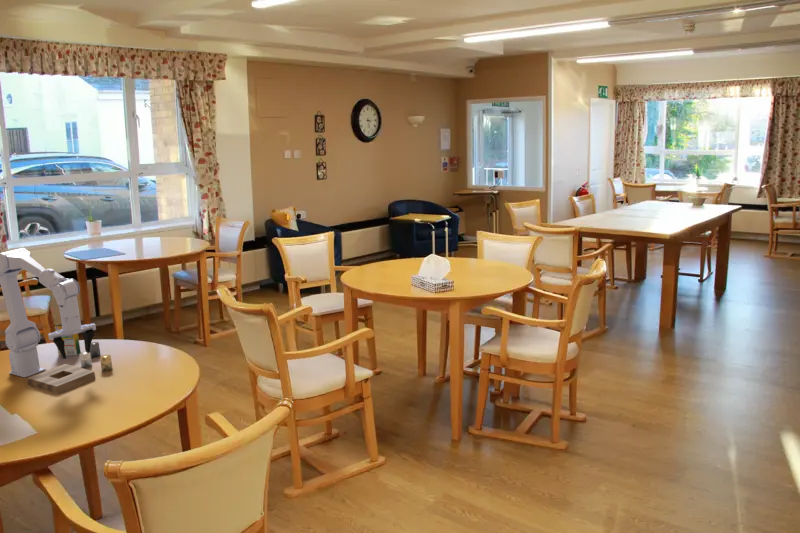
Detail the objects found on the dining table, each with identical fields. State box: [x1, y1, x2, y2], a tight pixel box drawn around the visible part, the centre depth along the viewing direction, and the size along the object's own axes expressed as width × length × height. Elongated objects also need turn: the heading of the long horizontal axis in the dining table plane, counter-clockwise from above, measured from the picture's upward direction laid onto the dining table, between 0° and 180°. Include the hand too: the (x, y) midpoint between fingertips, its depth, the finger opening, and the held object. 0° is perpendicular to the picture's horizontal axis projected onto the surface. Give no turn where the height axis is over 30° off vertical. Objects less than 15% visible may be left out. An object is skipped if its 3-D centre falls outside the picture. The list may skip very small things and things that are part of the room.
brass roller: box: [99, 354, 114, 373], centre depth 244 cm, size 4×4×5 cm
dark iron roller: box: [90, 341, 102, 359], centre depth 258 cm, size 4×4×5 cm
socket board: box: [26, 363, 96, 394], centre depth 235 cm, size 16×14×2 cm
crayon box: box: [54, 325, 81, 357], centre depth 260 cm, size 7×3×12 cm, turn 85°
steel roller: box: [78, 350, 93, 369], centre depth 248 cm, size 4×4×5 cm
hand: (76, 355), depth 232 cm, fingers open, 7 cm apart
